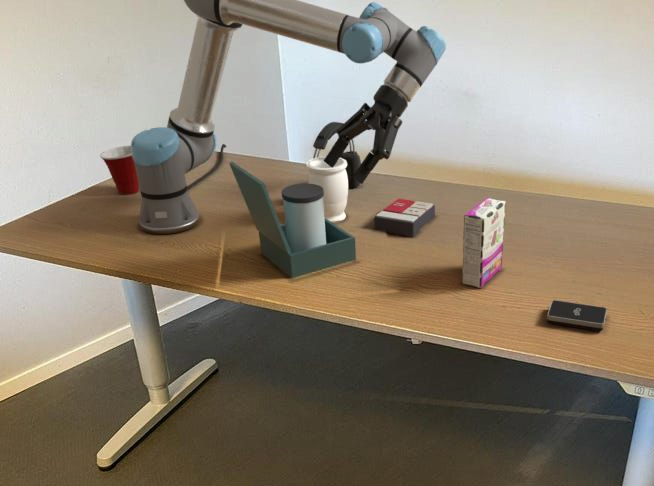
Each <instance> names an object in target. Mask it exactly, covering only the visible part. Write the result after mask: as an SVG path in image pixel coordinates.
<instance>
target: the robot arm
mask: <svg viewBox="0 0 654 486" xmlns="http://www.w3.org/2000/svg"><path fill="white" fill-rule="evenodd" d="M183 2H184V4H185V5H186V7H187V8H188V9H189V10H190V11H191V12H192V13H193V14H195V15H196V17H197V21H196V25H195V30H194V34H193V40H192V43H191V47H190V51H189V52H190V53H189V56H188V59H187V60H188V61H187V65H186V69H185V74H184V79H183V83H182V88H181V92H180V96H179V100H178V105H177V107H176V108H173V109H171V110H170V112H169V116H168V121H167V125H166V127H165V126H164V127H163V126H162V127H160V126H158V127H152V128H149V129H145V130H142V131H140V132H139V133H137V134H135V136H133V137H132V140H131V142H130V146H131V148H132V158H133V160H134V164H135V169H136V173H137V178H138V183H139V191H140V195H141V201H140V211H139V217H138V222H139V226H140V229H141V230H142V231H143V232H145V233H148V234H151V235H152V234H153V235H171V234H172V235H173V234H177V233H182V232H185V231H188V230H191V229H193V228H195V227H196V226H197V225H198V224H199V223H200V222H201V221H200V220H201V219H200V213H199V211H198V208H197V206H196V204H195V203H194V201H193V199H192V197H191V195H190V193H189V189H191V188H193V187H194V186H195V185H197V184H198V183H200V182H201V181H203V180H205V179H206V178H208V177H209V176H210V175H211V174H213V173H214V172H215V171H216V170H217V169H218V168H219V167H220V166H221V164H222V161H223V160H224V159H223V158H224V155H223V154H224V149H225V148H227V145H226V144H225V143H223V144H221V146H220V151H219V160H218V162H217V163H216V164H215V165H214V166H213V168H211V169H210V170H209V171H208V172H206V173H205V174H204V175H202V176H201V177H199V178H197V179H196V180H194V181H193V182H192V183H190V184H189V185H188V184H187V179H186V174H188V173H190V172H191V171H193V170H194V169H197V168H198V167H199V166H201V165H203V164H205V163H206V162H207V161H208V160H209V159H210V158H211V157H212V156H213V154H214V153H215V151H216V148H217V134H215V127H216V126H215V123H214V121H213V119H212V115H213V112H214V108H215V104H216V100H217V96H218V94H219V93H218V92H219V89H220V86H221V85H220V84H221V81H222V77H223V75H224V69H225V66H226V62H227V58H228V54H229V51H230V47H231V43H232V40H233V36H234V32H236V31H237V30H240V29H242V27H243V25H245V26H247V27H251V28H255V29H258V30H261V31H265V32H268V33H272V34H276V35H279V36H282V37H285V38H289V39H292V40H296V41H299V42H303V43H306V44H309V45H313V46H316V47H319V48H323V49H326V50H330V51H333V52H337V53H340V54H343V55H345V56H346V57H347V58H348V60H350V61H351V62H352V63H355V64H367V63H369V62H372V61H373V60H376V59H377V58H378V57H379V56H380V55H382V54H383V53H384V54H386V55H387V56H388V57H390V58H391V59H392V60H394V61H396V62H395V64H394V65H393V67H392V68H391V69H390V71H389V72H388V74H387V75H386V76H385V78H384V80H383V84H381V85H380V86H379V88H378V89H377V91H375V94H374V95H373V101H374V103H373V105H372V106H370V105H369V104H368V103H367V102H364V103H363V104H362V105H361V106H360V108H359V109H358V110H357V111H356V112H355V113H354V114H352V116H350V117H349V118H348V119H347V120H346V121H345V122H343V123H344V124H343V125H342V126H341V127H339V128H338V129H337V131H336V134H337V139H336V141H335V142H334V144H333V145H332V147H331V149H330V150H329V152H328V153H327V155H326V156H325V157H326V158H325V159H324V162H325V163H327V164H328V165H329V166H330V167H332V168H333V167H334V165H335V164H336V162H337V161H338V159H339V158H340V156H341V155H342V153H344V152H346V151H345V150H346V149H347V148H348V147H349V146H350V145H349V141H352V139H353V140H354V139H355V138H357V137H358V136H360V135H361V134H363V133H364V132H366V131H371V130H372V131H374V138H373V146H372V149H371V150H369V151H370V152H368V153H367V155H366V156H365V157H364V159H363V160H362V161H361V165H360V166H359V168H358V169H357V171H356V172H355V174H354V175H353V178H355V179H356V180H357V181H358V182H359V183H361V184H360V185H363V184H364V182H365V180H366V179H367V178H368V176H369V175H370V174H371V172H372V171H373V170H374V169H375V167H376V165H377V164H379V161H381V160H383V159H385V160H389V158H390V157H391V154H392V151H393V148H394V144H395V141H396V138H397V135H398V132H399V130H400V128H401V126H402V124H403V120H401V118H400V117H402V115H403V114H404V112H405V111H406V110H407V108H408V106H409V103H411V102H412V100H413V99H414V97H415V96H416V95H417V93H418V91H419V90H420V88H422V86H423V85H424V83H425V81H427V79H428V77H429V76H430V74H431V73H432V72H433V70H434V69H435V68H436V66H437V65H438V63H439V61H440V59H441V58H442V56H443V54H444V53H445V51H446V50H447V44H446V41H445V39H444V38H443V36H441V35H440V33H438V32H437V31H436V30H435V29H433V28H431V27H429V26H427V25H422V26H420V27H419V29H417V30H415V29H413V28H412V27H410V26H409V25H408V24H406V23H405V22H404V21H402V19H400V18H398V17H397V16H396V15H394V14H393V13H392V12H390V10H388V8H386V7H384V6H382V5H381V4H379V3H378V2H375V1H372V2H370V3H368V4H367V6H365V8H364V9H363V10H362V12H361V14H360V16H359V17H356V16H354V15H349V14H347V13H343V12H340V11H337V10H333V9H329V8H325V7H322V6H319V5H315V4H312V3H308V2H305V1H301V0H183Z"/></svg>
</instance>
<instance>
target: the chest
mask: <svg viewBox="0 0 654 486" xmlns="http://www.w3.org/2000/svg"><path fill="white" fill-rule="evenodd" d="M280 225H281V227H282V230H283V233H284V235H285V238H286V240H287V233H286V223H283V224H280ZM325 232H326V244H325V245H321V246H317V247H314V248H310V249H307V250H303V251H299V252H296V253H290V254H287V253H286V252H285V251H283V250H282V249H281V248H280V247H278V246H277V245H276V244H274V243H273V242H272V241H271V240H269V239H268V238H267V237H266V236H264V235H263V234H262V233H261V232H259V231H258V237H259V245H260V252H261V254H262V255H263V256H265V257H266V258H267V259H269V260H270V261H271V262H272V263H273V264H274V265H276V266H277V267H278V268H279V269H281V271H282V272H284V273H285V274H286V275H288V276H289V278H291V279H295V278H298V277H302V276H306V275H308V274H312V273H316V272H320V271H323V270H325V269H329V268H333V267H336V266H340V265H344V264H346V263H350V262H353V261H356V260H357V251H356V250H357V249H356V237H355V236H353V235H352V234H351V233H349V232H347V231H346V230H344V229H343V228H342V227H340V226H338V225H337V224H335V223H334V222H333V221H331V222H330V221H329V220H327V219H326V218H325Z"/></svg>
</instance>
